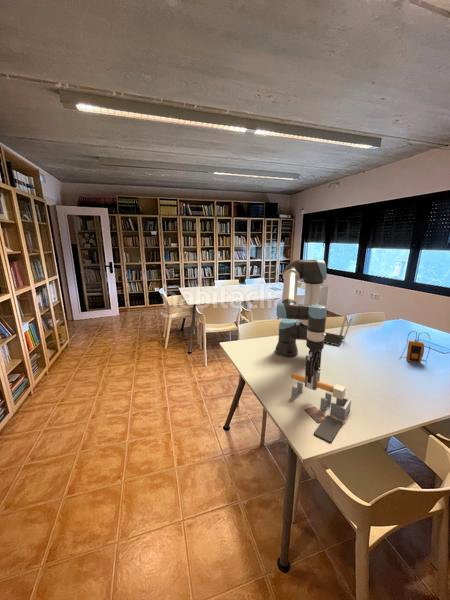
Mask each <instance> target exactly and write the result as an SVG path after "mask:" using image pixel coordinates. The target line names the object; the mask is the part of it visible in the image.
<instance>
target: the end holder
mask: <svg viewBox="0 0 450 600" xmlns="http://www.w3.org/2000/svg"><path fill="white" fill-rule="evenodd" d="M351 404H352V399H351V398H349V397H345V396H344V398H343V399H342V400H341V399H338V398H336V401H335V403H334V402H331V404H330V413H329V414H330V415H332V416H335V418H336V417H337V418H339V419H341V420H345V419H346V417H347V416H348V414H349V412H350V410H351Z"/></svg>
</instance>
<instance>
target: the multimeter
mask: <svg viewBox="0 0 450 600" xmlns="http://www.w3.org/2000/svg"><path fill="white" fill-rule="evenodd" d="M413 332H414V333H416V337H415V340H409V338H407V340H406V341H407V342H406V344H407V345H406V346H405V347H404V349H403V351H402V354H401V356H400V357H399V359H401V357H402V356H403V355H404V353H405V350H407V351H406V356H404V357H405V360H406V361H407V362H413V363H419V364H421V363H422V361H424V362H426V361H427V360H428V356H429V353H430V349H431V347H428V348H429V349H428V353H427V356H426V359H425V360H424V359H423V356H424V353H425V352H424V351H425V343H424V342H422V341H419V339H420V338H419V336H420V335H421V334H422V332H421V333H419V334H418V332H417V331H415V330H413V331H410V332H409V333H408V335H407V337H409V335H410V334H411V333H413ZM417 335H418V336H417ZM425 335H428V332H425ZM428 338H429V339H431V338H430V335H428ZM406 348H407V349H406Z"/></svg>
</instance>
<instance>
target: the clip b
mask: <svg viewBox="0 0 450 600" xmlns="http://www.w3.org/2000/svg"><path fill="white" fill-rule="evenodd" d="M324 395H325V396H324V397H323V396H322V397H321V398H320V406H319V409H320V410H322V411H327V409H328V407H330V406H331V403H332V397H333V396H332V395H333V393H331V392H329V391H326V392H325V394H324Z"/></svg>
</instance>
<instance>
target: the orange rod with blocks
mask: <svg viewBox="0 0 450 600" xmlns="http://www.w3.org/2000/svg"><path fill="white" fill-rule="evenodd" d="M313 376H314V378H313V389H312V390H313V391H316V390H317V389H321V390H323V391H326V392H329V393H332V397H333V398H336V399H337V398H338V399H341V400H342V399H343V398H344V397H345V396H346V390H347V389H346V388H347V387H346V386H343V385H341V384H337V383H336V384H335V385H331V384H328V383H324V382H321V381H320V380H321V371H313ZM290 378H291V379H293V380H295V381H297V382H298V381H299V382H302V383H303V384H304V387H305V388H306V385H307V376H305V375H300V374H298V373H295V372H291V375H290Z"/></svg>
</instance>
